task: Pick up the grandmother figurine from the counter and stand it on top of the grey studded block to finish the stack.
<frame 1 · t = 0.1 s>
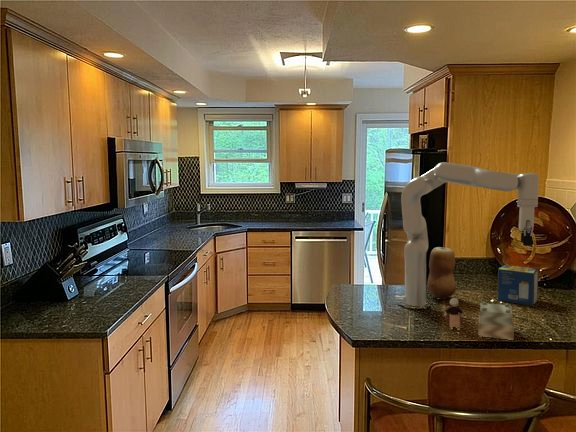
hand: (526, 243, 190), 31 cm above the worktop, tool pointing down, fingers open, 9 cm apart
grandmother figurine: (453, 329, 180), on the worktop
butternut squash: (440, 298, 223), on the worktop
grey studded block: (495, 333, 175), on the worktop
protein box: (517, 301, 216), on the worktop
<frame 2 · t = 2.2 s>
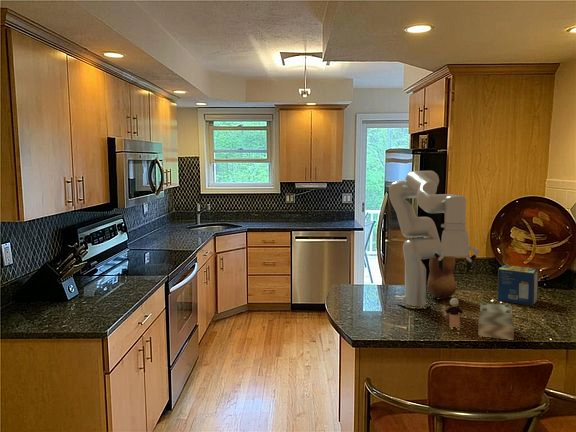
hand: (454, 270, 178), 24 cm above the worktop, tool pointing down, fingers open, 9 cm apart
nothing on the worktop moved.
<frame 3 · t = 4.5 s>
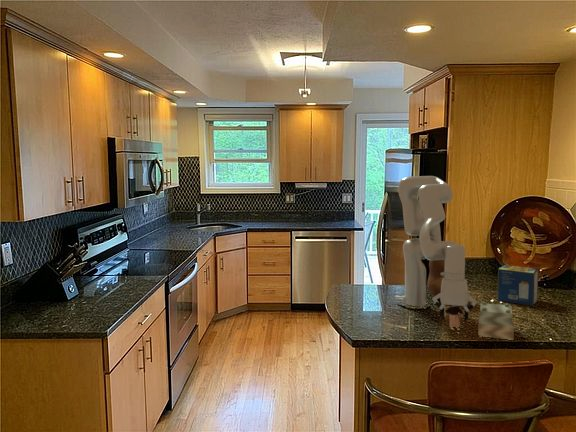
hand: (454, 319, 180), 4 cm above the worktop, tool pointing down, fingers closed on grandmother figurine, 7 cm apart
grandmother figurine: (453, 329, 180), on the worktop, touching gripper
everything else where it was.
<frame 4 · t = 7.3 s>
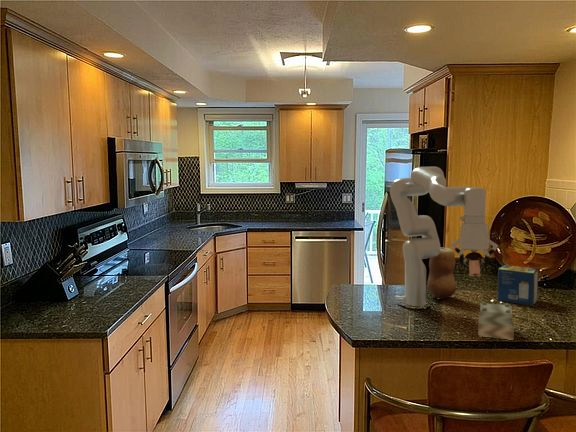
hand: (474, 265, 175), 26 cm above the worktop, tool pointing down, fingers closed on grandmother figurine, 7 cm apart
grandmother figurine: (473, 276, 175), point 22 cm above the worktop, touching gripper
everything else where it was.
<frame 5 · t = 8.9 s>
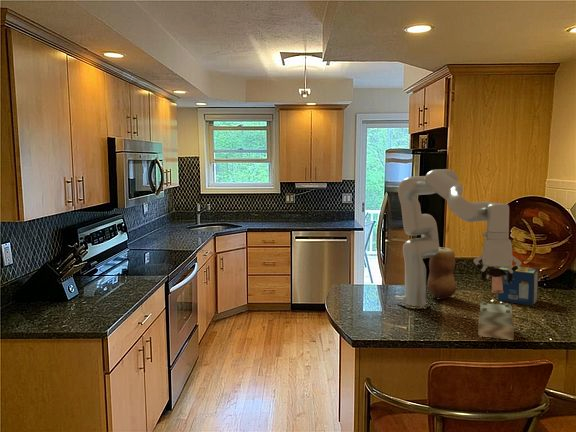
hand: (496, 281, 172), 20 cm above the worktop, tool pointing down, fingers closed on grandmother figurine, 7 cm apart
grandmother figurine: (496, 292, 173), point 16 cm above the worktop, touching gripper
everything else where it was.
when the fingers open (15 cm above the worktop, at t = 10.4 s): grandmother figurine drops 1 cm, resting on grey studded block.
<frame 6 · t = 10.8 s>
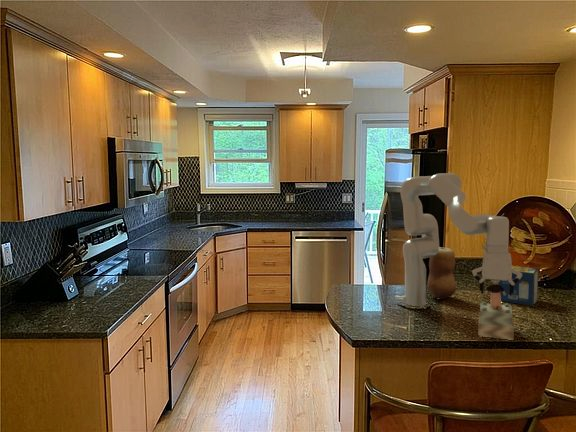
hand: (496, 293, 173), 16 cm above the worktop, tool pointing down, fingers open, 9 cm apart
grandmother figurine: (494, 308, 174), point 10 cm above the worktop, touching grey studded block
everything else where it was.
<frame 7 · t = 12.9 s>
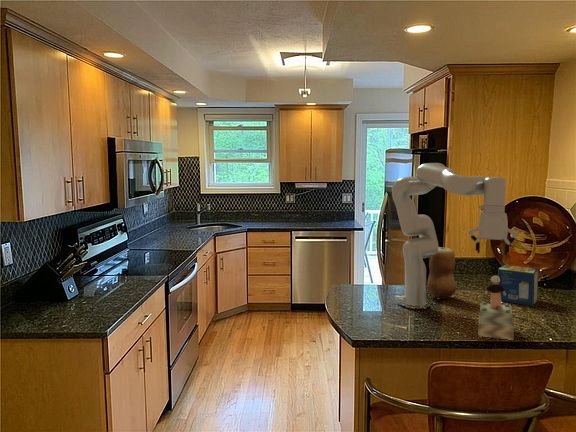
hand: (491, 253, 175), 30 cm above the worktop, tool pointing down, fingers open, 9 cm apart
nothing on the worktop moved.
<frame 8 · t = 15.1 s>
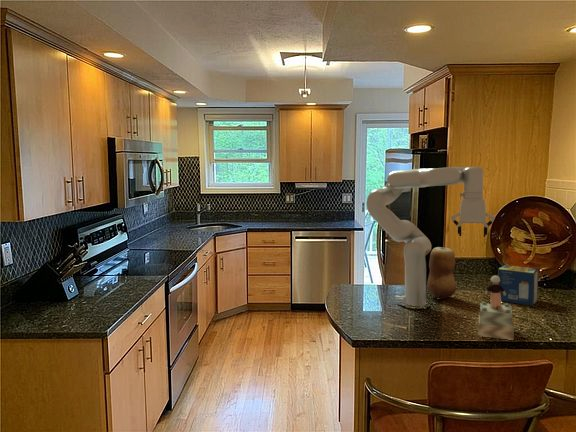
hand: (472, 236, 195), 34 cm above the worktop, tool pointing down, fingers open, 9 cm apart
nothing on the worktop moved.
at the end: grandmother figurine 0.4 cm off-centre on the grey studded block, point 9.8 cm above the grey studded block's base; grandmother figurine tilted 0°; the gripper is holding nothing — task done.
